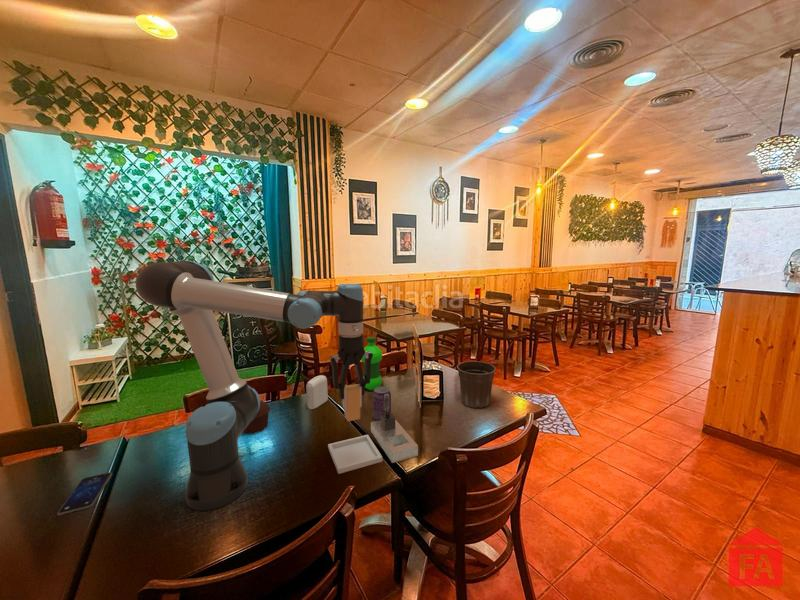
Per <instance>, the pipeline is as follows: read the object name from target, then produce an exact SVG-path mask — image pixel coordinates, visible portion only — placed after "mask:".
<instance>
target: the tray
mask: <svg viewBox="0 0 800 600" xmlns="http://www.w3.org/2000/svg"><path fill="white" fill-rule="evenodd" d="M327 449H328V452H329V454H330V457H331V459H332V462H333V464H334V466H335V470H336V472H337V474H338V475H340V474H344V473H347V472H350V471H354V470H357V469H361V468H364V467H368V466H372V465H375V464H378V463H382V462H383V456H382V454H381V453H380V451H379V449H378V448H377V446H376V445H375V443H374V442H373V440H372V438H370V435H369V434H364V435H361V436H357V437H353V438H348V439H344V440H340V441H336V442H333V443H332V442H331V443H328V444H327Z"/></svg>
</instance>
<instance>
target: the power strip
mask: <svg viewBox="0 0 800 600" xmlns="http://www.w3.org/2000/svg"><path fill="white" fill-rule="evenodd" d="M380 416H381V420H379V421H377V420H375V421H371V422H370V432H371V433H372V435H373V437H374V438H375V439H376V441H377V443H378V444H379V446H380V447H381V449H382V451H384V453H385V455H386V456H387V457H388V459H389V461H390V462H391V464H393V463H397V462H401V461H404V460H407V459H411V458H412V459H413V458H415V457H418V456H419V445H418V444H417V442H415V440H414V438H413V437H412V436H411V435H410V434H409V433H407V431H406V429H404V427H403V426H402V425H401V424H400V423H399V422H398V421H397V419H396V416H394V414H393V413H392V412H391V413H390V409H386V414H382V415H380Z"/></svg>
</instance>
